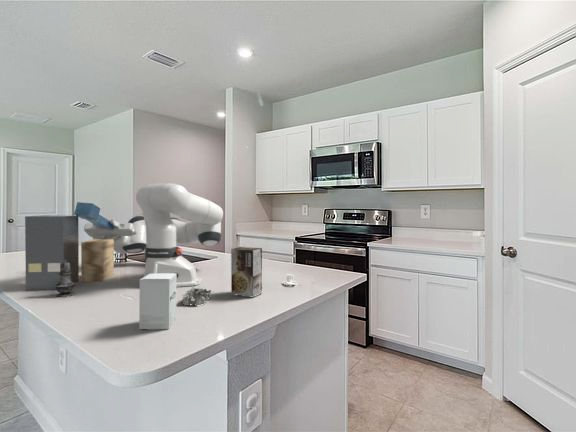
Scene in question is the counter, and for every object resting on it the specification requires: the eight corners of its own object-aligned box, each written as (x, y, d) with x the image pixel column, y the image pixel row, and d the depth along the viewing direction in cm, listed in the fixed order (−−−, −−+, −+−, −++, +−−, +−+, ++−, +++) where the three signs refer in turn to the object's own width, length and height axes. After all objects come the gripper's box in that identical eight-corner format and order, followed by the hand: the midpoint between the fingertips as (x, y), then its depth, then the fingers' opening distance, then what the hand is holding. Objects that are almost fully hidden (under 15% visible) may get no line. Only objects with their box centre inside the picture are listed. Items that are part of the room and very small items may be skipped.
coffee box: (262, 293, 115) (263, 247, 115) (253, 298, 109) (253, 250, 109) (240, 290, 119) (241, 246, 119) (230, 294, 113) (230, 248, 113)
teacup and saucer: (293, 288, 124) (293, 278, 124) (275, 286, 128) (275, 275, 128) (304, 284, 131) (304, 274, 131) (287, 281, 136) (287, 272, 135)
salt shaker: (80, 293, 113) (79, 258, 112) (66, 297, 107) (66, 261, 106) (64, 292, 113) (63, 257, 113) (50, 297, 107) (49, 260, 107)
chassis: (78, 281, 129) (78, 215, 128) (63, 289, 117) (63, 216, 116) (44, 282, 127) (43, 215, 126) (25, 290, 115) (24, 216, 114)
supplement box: (169, 329, 81) (169, 278, 80) (138, 330, 80) (138, 278, 80) (177, 319, 88) (177, 272, 88) (148, 319, 88) (148, 272, 87)
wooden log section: (113, 274, 142) (113, 239, 142) (103, 281, 131) (103, 242, 130) (93, 275, 141) (93, 239, 140) (81, 281, 129) (81, 242, 129)
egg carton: (202, 307, 99) (202, 294, 99) (179, 306, 100) (179, 293, 100) (213, 297, 110) (213, 286, 110) (192, 297, 110) (192, 285, 110)
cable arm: (115, 230, 148) (118, 220, 149) (89, 215, 127) (92, 203, 128) (102, 229, 147) (104, 219, 149) (73, 214, 127) (77, 202, 128)
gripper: (136, 240, 156) (129, 227, 144) (89, 240, 152) (77, 227, 140) (138, 228, 159) (131, 215, 147) (92, 228, 155) (81, 214, 143)
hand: (104, 221), depth 143 cm, fingers closed on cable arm, 4 cm apart
